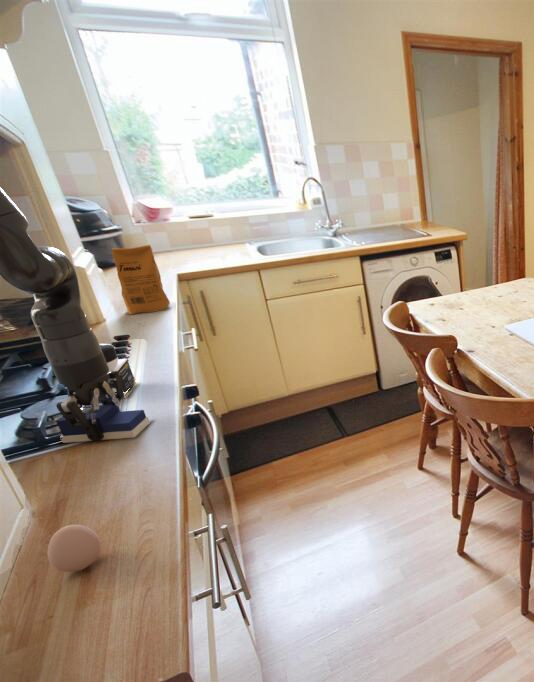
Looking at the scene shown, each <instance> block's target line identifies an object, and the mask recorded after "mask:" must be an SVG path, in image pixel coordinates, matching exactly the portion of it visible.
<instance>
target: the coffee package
mask: <svg viewBox="0 0 534 682" xmlns="http://www.w3.org/2000/svg"><path fill="white" fill-rule="evenodd" d="M111 252H112V258H113V261H114V264H115V268H116V271H117V278H118V280H119V283H120V286H121V296H122V299H123V302H124V305H125V307H126V311H127V313H128V314H130V315H135V314H140V313H153V312H158V311H163V310H168V308H169V305H170V303H171V301H170V299H169V298H168V295H167V294H166V293H165V290H164V288H163V282H162V279H161V273H160V270H159V267H158V265H157V263H156V259H155V256H154V253H153V249H152V246H151V244H147V245H142V246H136V247H132V248H121V247H116V248H115V247H111Z"/></svg>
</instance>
